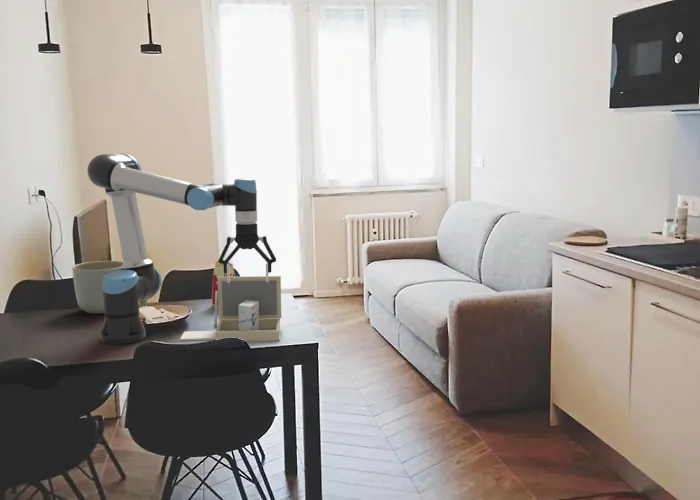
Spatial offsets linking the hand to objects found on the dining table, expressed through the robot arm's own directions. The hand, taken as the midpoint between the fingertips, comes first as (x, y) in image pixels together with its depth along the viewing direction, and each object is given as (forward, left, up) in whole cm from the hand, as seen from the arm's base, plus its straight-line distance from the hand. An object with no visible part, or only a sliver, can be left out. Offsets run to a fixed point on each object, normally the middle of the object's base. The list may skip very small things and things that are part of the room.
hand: (248, 282), depth 238 cm
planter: (-62, +39, -20) cm, 76 cm away
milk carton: (-13, +45, -20) cm, 51 cm away
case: (0, 0, -19) cm, 19 cm away
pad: (-17, -1, -19) cm, 26 cm away
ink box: (0, 0, -20) cm, 20 cm away
